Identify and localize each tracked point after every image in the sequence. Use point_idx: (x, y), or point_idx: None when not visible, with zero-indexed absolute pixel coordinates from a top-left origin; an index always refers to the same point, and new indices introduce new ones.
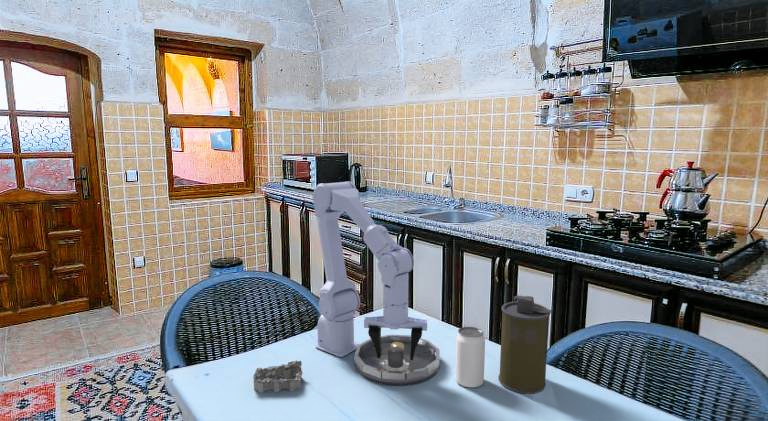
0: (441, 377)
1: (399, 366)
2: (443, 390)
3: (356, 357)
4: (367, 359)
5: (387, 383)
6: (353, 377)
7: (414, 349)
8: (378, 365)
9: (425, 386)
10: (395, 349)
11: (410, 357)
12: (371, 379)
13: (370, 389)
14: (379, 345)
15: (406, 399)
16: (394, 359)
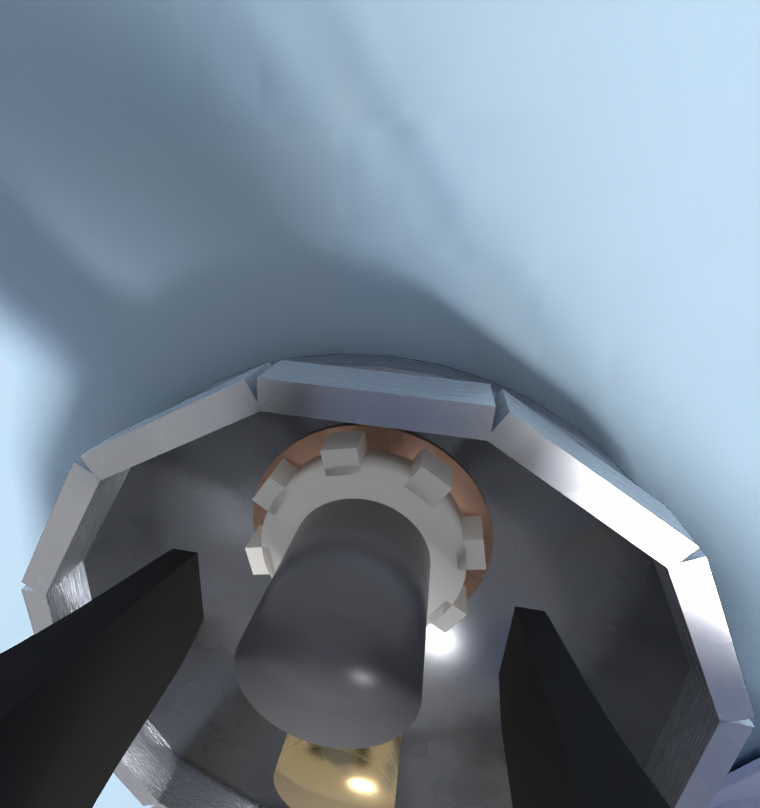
0: (69, 459)
1: (320, 510)
2: (24, 291)
3: (741, 686)
4: (599, 677)
5: (439, 369)
6: (729, 485)
7: (42, 631)
8: (511, 589)
9: (152, 346)
10: (329, 699)
11: (174, 566)
12: (576, 432)
13: (594, 294)
14: (551, 783)
15: (275, 133)
16: (351, 556)
